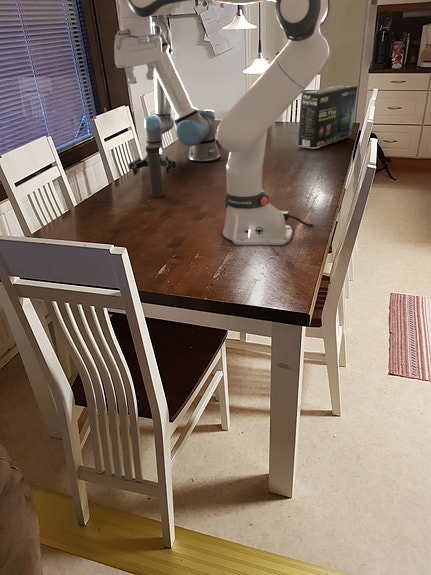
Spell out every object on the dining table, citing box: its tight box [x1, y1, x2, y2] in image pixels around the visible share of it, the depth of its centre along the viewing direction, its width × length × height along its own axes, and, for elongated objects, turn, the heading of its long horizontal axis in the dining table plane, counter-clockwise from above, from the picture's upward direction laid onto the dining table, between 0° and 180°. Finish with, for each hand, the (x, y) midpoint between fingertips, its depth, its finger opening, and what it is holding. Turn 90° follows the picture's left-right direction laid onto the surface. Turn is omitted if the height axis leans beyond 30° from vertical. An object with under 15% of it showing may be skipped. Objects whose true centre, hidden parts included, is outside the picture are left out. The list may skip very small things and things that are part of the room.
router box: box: [297, 84, 358, 151], centre depth 238 cm, size 36×11×27 cm, turn 134°
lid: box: [145, 145, 160, 153], centre depth 174 cm, size 5×5×2 cm
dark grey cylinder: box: [146, 152, 164, 198], centre depth 179 cm, size 5×5×19 cm
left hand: (151, 170), depth 192 cm, fingers open, 13 cm apart
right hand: (141, 81), depth 138 cm, fingers open, 8 cm apart
